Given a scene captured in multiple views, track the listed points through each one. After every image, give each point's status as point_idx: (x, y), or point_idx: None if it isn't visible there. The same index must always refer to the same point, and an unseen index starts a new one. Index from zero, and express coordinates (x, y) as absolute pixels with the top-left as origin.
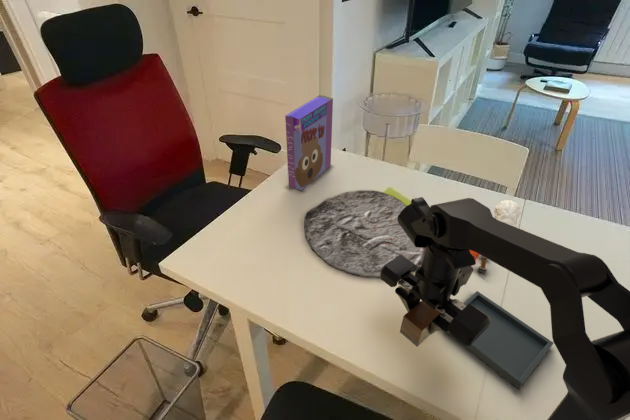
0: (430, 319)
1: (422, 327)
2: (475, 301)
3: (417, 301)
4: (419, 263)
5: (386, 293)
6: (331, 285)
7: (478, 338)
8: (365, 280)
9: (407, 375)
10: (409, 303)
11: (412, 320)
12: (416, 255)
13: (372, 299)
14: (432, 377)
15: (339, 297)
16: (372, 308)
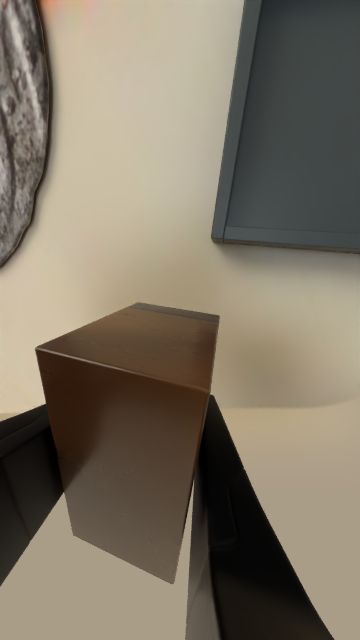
0: (166, 533)
1: (164, 571)
2: (266, 6)
3: (45, 453)
4: (33, 55)
5: (69, 253)
6: (10, 316)
7: (329, 188)
8: (24, 257)
9: (212, 390)
10: (10, 558)
11: (110, 547)
12: (3, 26)
13: (66, 290)
14: (254, 369)
15: (35, 328)
16: (81, 309)
